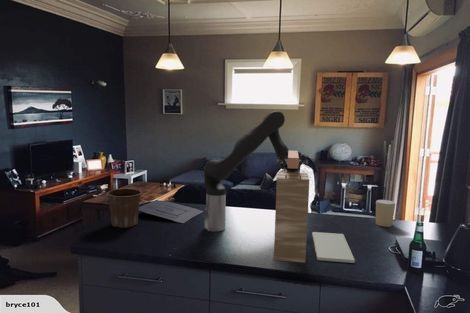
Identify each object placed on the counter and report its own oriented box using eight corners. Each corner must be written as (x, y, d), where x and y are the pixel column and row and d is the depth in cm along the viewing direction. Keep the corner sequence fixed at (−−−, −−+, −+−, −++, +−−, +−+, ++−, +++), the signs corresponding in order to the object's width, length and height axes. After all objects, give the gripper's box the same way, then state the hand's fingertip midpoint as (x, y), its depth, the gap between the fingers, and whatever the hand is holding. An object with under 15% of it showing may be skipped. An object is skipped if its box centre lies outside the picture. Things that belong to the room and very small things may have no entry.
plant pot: (146, 226, 177) (146, 193, 175) (113, 231, 168) (112, 197, 166) (135, 217, 191) (135, 187, 189) (103, 222, 182) (102, 190, 180)
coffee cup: (395, 223, 191) (396, 201, 189) (391, 228, 183) (393, 205, 181) (376, 220, 195) (377, 198, 194) (372, 225, 188) (374, 202, 186)
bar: (298, 168, 137) (298, 158, 136) (287, 168, 137) (288, 157, 137) (297, 159, 160) (297, 150, 160) (288, 159, 161) (288, 150, 160)
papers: (158, 203, 215) (158, 197, 214) (203, 216, 205) (204, 209, 204) (132, 214, 193) (133, 207, 192) (182, 228, 182) (183, 221, 182)
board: (354, 263, 140) (354, 260, 140) (317, 260, 142) (317, 257, 142) (343, 236, 169) (343, 234, 169) (312, 234, 171) (312, 231, 171)
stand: (305, 262, 139) (309, 176, 135) (273, 260, 141) (276, 175, 136) (303, 248, 153) (307, 170, 149) (274, 246, 154) (277, 169, 150)
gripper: (277, 159, 173) (276, 144, 157) (307, 161, 171) (310, 145, 155) (276, 174, 170) (275, 160, 154) (307, 176, 168) (310, 162, 152)
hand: (293, 153), depth 155 cm, fingers closed on bar, 4 cm apart
